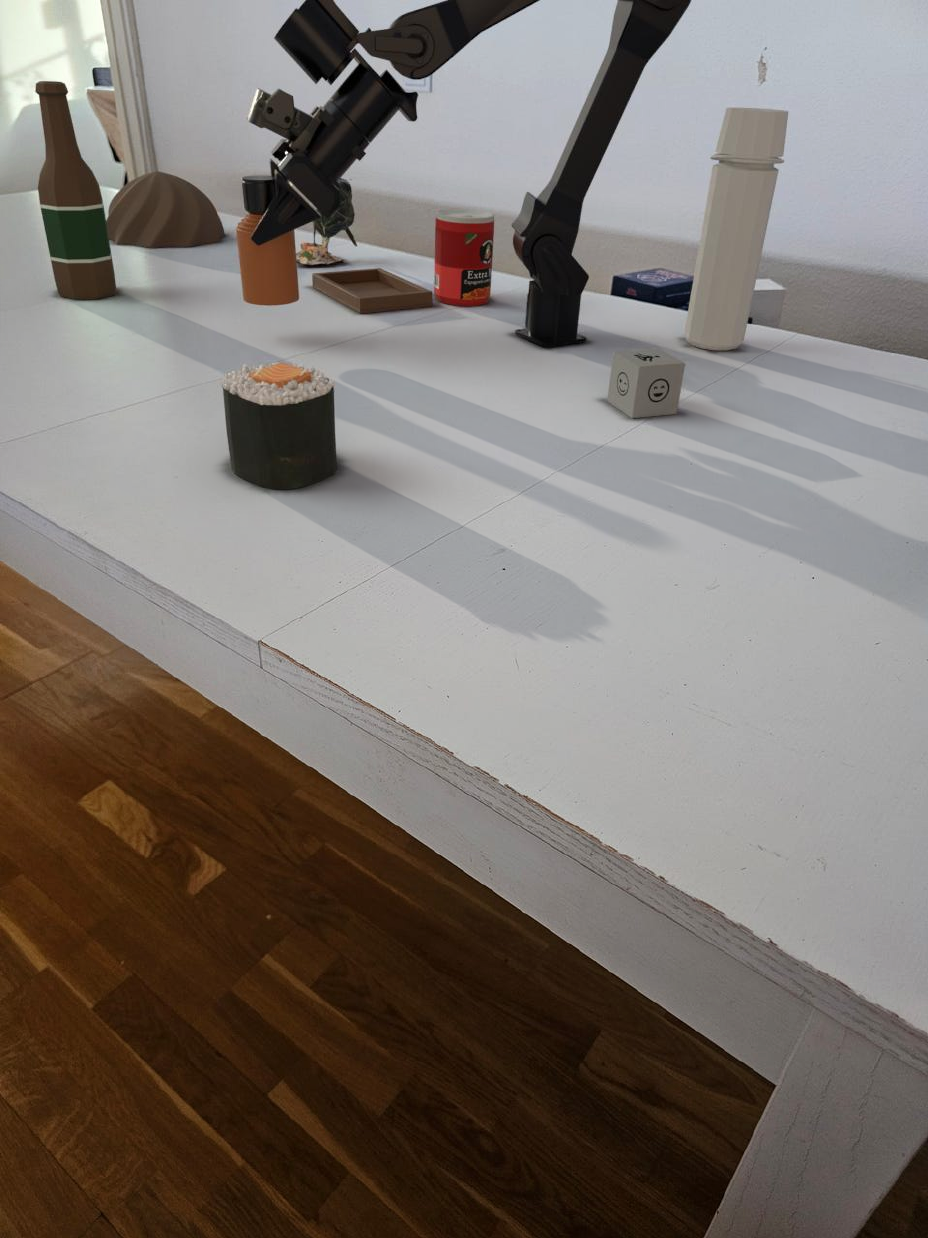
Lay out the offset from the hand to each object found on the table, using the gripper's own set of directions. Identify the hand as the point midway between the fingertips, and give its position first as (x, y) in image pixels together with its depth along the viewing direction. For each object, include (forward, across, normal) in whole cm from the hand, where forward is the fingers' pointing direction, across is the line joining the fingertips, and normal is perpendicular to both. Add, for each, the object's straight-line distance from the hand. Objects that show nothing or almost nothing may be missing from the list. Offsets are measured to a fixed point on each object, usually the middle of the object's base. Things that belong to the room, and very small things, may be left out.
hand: (253, 236), depth 98 cm
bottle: (+4, 0, +6) cm, 7 cm away
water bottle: (-30, +6, +47) cm, 56 cm away
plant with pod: (0, -43, +16) cm, 46 cm away
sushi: (+8, +38, +8) cm, 39 cm away
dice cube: (-17, +27, +34) cm, 46 cm away
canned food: (-11, -17, +28) cm, 35 cm away
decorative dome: (+17, -64, -2) cm, 66 cm away
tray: (-3, -20, +19) cm, 28 cm away
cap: (-3, 0, -1) cm, 3 cm away
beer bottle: (+23, -24, -8) cm, 34 cm away
